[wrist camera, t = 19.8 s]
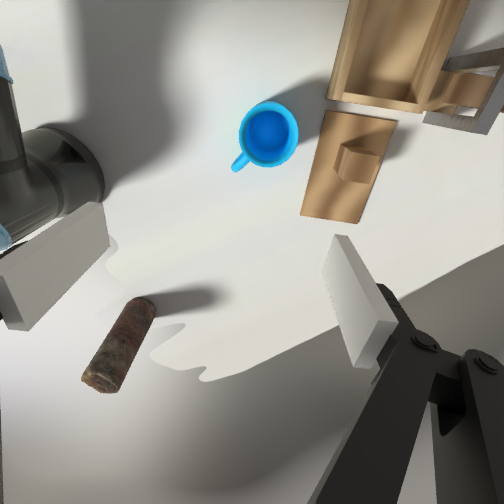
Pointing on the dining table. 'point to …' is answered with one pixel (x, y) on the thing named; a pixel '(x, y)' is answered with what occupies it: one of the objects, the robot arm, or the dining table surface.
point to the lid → (345, 166)
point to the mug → (267, 136)
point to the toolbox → (396, 54)
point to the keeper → (496, 96)
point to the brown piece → (120, 347)
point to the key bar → (468, 90)
